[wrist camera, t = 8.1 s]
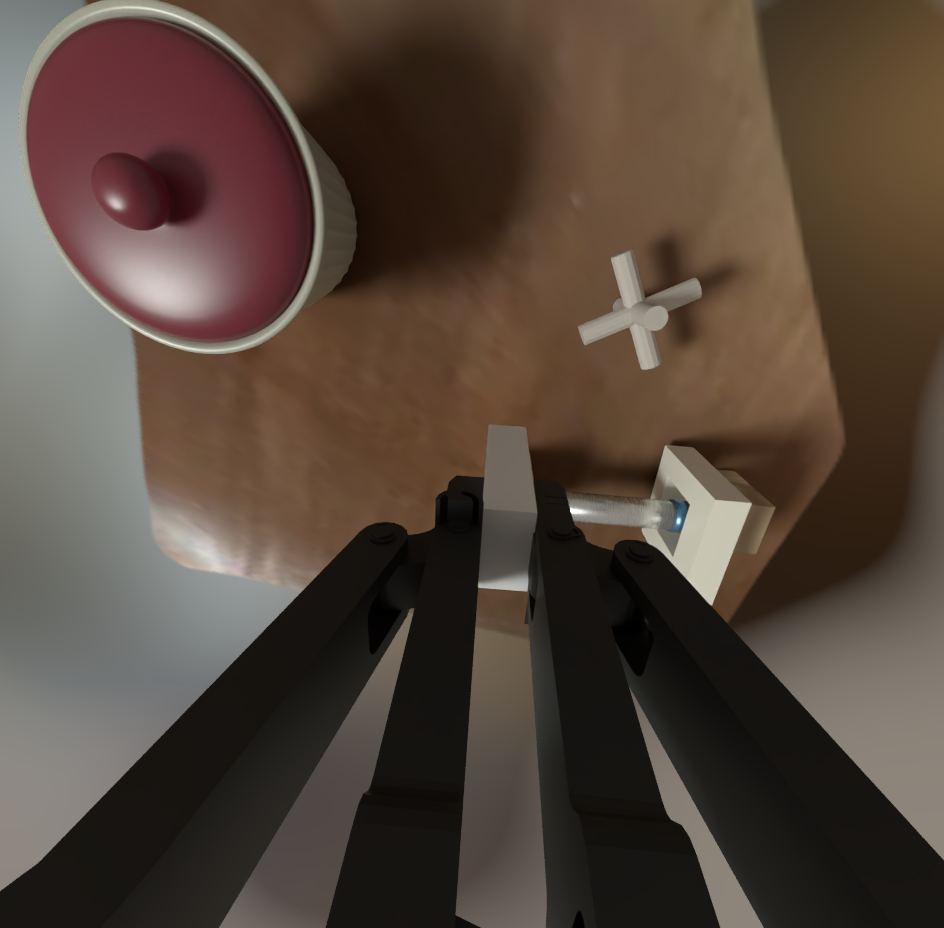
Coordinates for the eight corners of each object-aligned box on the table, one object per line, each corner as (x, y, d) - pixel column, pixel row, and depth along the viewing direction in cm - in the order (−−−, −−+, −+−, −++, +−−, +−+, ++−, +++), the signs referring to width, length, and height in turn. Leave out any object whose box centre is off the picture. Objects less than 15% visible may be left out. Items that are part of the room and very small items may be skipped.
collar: (641, 530, 51) (679, 602, 41) (665, 445, 47) (715, 499, 36) (666, 532, 51) (711, 605, 41) (693, 447, 47) (752, 503, 36)
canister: (365, 348, 45) (267, 410, 26) (192, 288, 44) (-45, 308, 25) (409, 149, 38) (318, 32, 19) (202, 68, 36) (-125, -147, 17)
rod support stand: (498, 493, 52) (498, 530, 44) (503, 451, 49) (503, 483, 42) (719, 512, 51) (755, 554, 44) (734, 471, 49) (775, 507, 41)
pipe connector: (685, 335, 43) (735, 354, 34) (587, 373, 45) (610, 401, 36) (662, 230, 39) (710, 220, 30) (556, 277, 41) (572, 281, 32)
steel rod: (504, 506, 47) (504, 523, 44) (507, 479, 45) (507, 494, 42) (738, 527, 46) (755, 545, 43) (749, 500, 45) (767, 517, 42)
